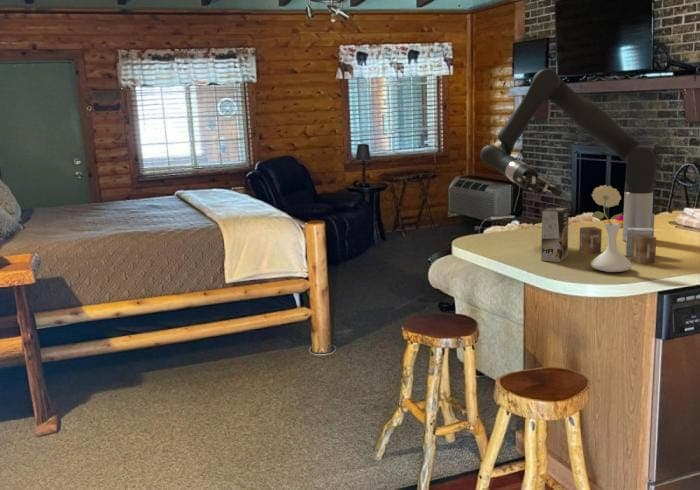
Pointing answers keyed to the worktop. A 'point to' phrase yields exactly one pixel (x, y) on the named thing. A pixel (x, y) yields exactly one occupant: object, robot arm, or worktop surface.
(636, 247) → the walnut block one
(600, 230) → the walnut block seven
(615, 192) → the flower in vase
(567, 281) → the worktop surface
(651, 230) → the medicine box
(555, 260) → the coffee box
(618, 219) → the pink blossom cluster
